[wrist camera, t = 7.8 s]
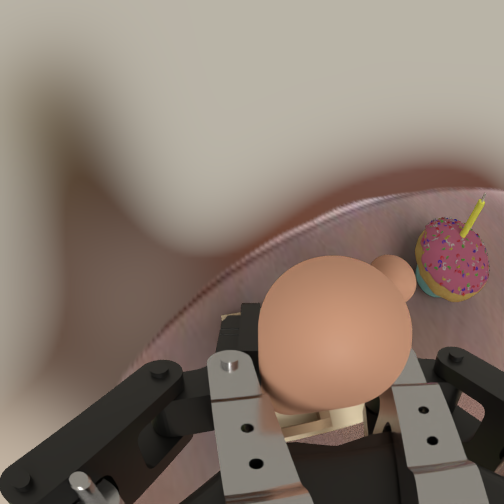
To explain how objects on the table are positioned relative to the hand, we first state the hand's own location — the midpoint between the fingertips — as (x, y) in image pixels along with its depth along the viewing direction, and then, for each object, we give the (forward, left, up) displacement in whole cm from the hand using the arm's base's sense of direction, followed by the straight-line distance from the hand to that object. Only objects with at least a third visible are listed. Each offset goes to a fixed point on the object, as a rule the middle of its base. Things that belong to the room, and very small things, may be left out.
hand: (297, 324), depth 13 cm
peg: (0, +2, -4) cm, 5 cm away
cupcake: (-19, -6, -16) cm, 25 cm away
